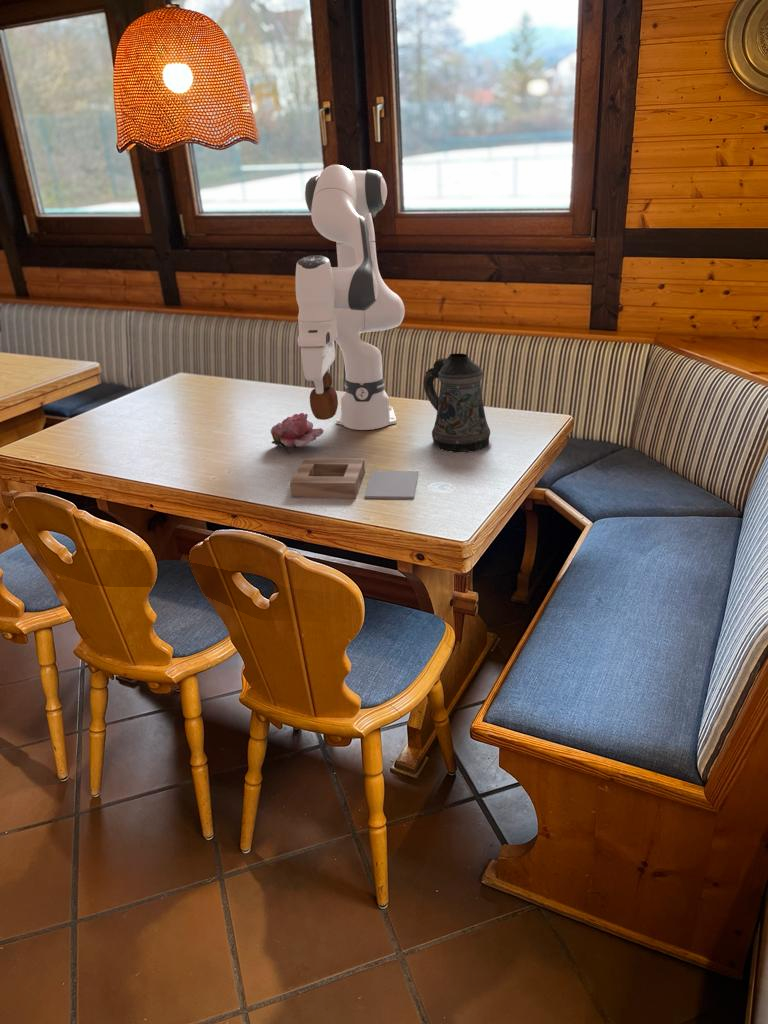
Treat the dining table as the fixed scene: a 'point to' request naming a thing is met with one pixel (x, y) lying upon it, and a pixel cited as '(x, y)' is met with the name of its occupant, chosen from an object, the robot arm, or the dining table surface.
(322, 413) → the wooden figurine
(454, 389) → the beer stein
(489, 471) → the dining table surface
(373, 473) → the slate mat
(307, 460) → the walnut socket block
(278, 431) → the flower
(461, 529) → the dining table surface
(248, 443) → the dining table surface
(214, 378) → the dining table surface
